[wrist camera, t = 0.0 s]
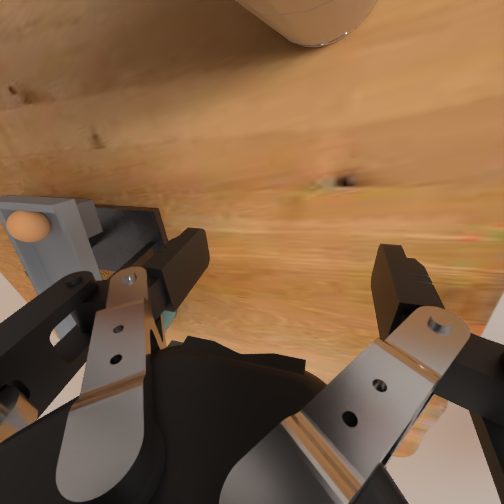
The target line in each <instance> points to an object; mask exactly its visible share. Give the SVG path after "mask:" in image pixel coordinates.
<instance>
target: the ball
mask: <svg viewBox="0 0 504 504" xmlns="http://www.w3.org/2000/svg"><path fill="white" fill-rule="evenodd" d="M6 228H7V230H8V232H9V234H10V235H11V236H12V237H14V238H15V239H17V240H20V241H23V242H37V241H40V240H42V239H44V238H45V237H46V236H47V235H48V234H49V232H50V228H51V226H50V222H49V220H48V218H47V217H46V216H45V215H44V214H42V213H41V212H33V211H20V210H18V211H15V212H14V213H12V214H11V215H10V216H9V217H8V219H7V221H6Z"/></svg>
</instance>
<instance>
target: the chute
mask: <svg viewBox="0 0 504 504" xmlns="http://www.w3.org/2000/svg"><path fill="white" fill-rule="evenodd" d="M18 210H20V211H33V212H41V213H42V214H44V215H45V216H46V217H47V218H48V220H49V222H50V226H51V228H50V232H49V234H48V235H47V236H46V237H45V238H44V239H42V240H40V241H37V242H23V241H20V240H17V239H15V238H14V237H12V236H11V235H10V234H9V232H8V230H7V228H6V221H7V219H8V217H9V216H10V215H11V214H12V213H14V212H15V211H18ZM0 220H1V222H2V224H3V226H4V228H5V230H6V232H7V234H8V236H9V238H10V240H11V242H12V244H13V246H14V248H15V250H16V252H17V254H18V256H19V259H20V261H21V263H22V265H23V267H24V269H25V271H26V273H27V275H28V277H29V279H30V281H31V283H32V285H33V287H34V289H35V291H36V293H37V295H39V294H41V293H42V292H44V291H45V290H46V289H48V288H49V287H50V286H52V285H53V284H54V283H56V282H57V281H58V280H60V279H61V278H63V277H65V276H67V275H69V274H71V273H74V272H78V271H90V272H92V274H93V276H94V278H95V280H96V281H101V280H102V277H101V274H100V272H99V269H98V266H97V263H96V260H95V257H94V254H93V251H92V248H91V246H90V243H89V240H88V238H90V237H92V236H94V235H96V234H99V233H101V232H103V230H102V227H101V224H100V221H99V218H98V214H97V211H96V208H95V205H94V202H93V199H79V198H61V197H43V196H41V197H33V196H15V195H7V196H2V197H0ZM75 325H76V323H75V321H74V320H73V318H72V316H71V315H70V314H69V315H68V316H67V317H66V318H65V319H64V320H63V321H62V322H60V323H59V324H58V325H57V326H56V327H55V328H54V329H55V331H56V333H57V335H58V337H59V339H60V340H61V339H62V338H63V337H64V336H65V335H66V334H67V333H68V332H69V331H70V330H71V329H72V328H73V327H74V326H75ZM176 345H183V343H182V342H178V341H173V340H172V341H171V342H170V344H169V345H168V346H167V347H171V346H176ZM167 347H166V348H167Z"/></svg>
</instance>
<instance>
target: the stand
mask: <svg viewBox="0 0 504 504" xmlns="http://www.w3.org/2000/svg"><path fill="white" fill-rule="evenodd" d="M94 205H95V208H96V211H97V214H98V218H99V221H100V224H101V227H102V230H103V232H101V233H99V234H96V235H94V236H92V237H90V238H88V240H89V243H90V246H91V248H92V251H93V254H94V257H95V260H96V263H97V266H98V269H103V270H110V271H116V272H115V273H114V274H113V275H115V274H116V273H117V272H119V271H121V270H123V269H126V268H129V267H141V266H142V265H143V264H144V263H146V262H147V261H148V260H149V259H150V258H151V257H152V256H153V255H154V254H155V253H156V252H157V253H158V251H159V250H160V249H161V248H163V246H164V245H165V244H166V243H167V242H168V239H167V236H166V232H165V229H164V226H163V222H162V219H161V216H160V212H159V209H158V208H145V207H129V206H113V205H97V204H94ZM25 273H26V271H25ZM26 275H27V273H26ZM113 275H112V276H113ZM27 276H28V275H27ZM112 276H110V277H109V278H108V279H107V280H110V279H111V278H112Z"/></svg>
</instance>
